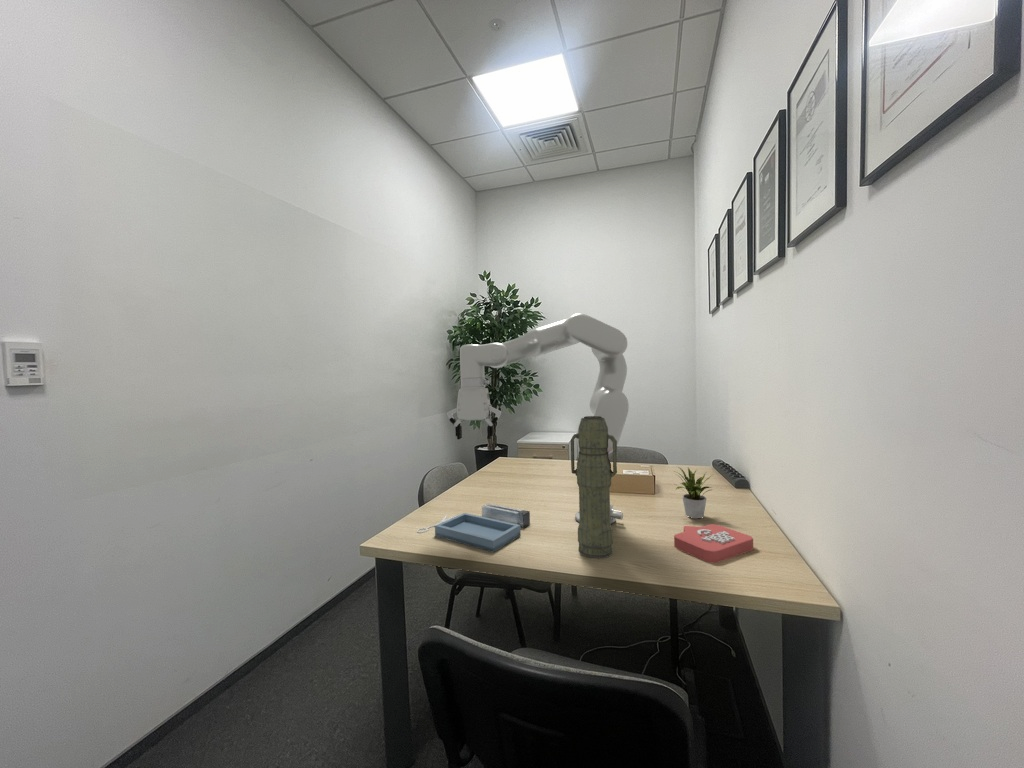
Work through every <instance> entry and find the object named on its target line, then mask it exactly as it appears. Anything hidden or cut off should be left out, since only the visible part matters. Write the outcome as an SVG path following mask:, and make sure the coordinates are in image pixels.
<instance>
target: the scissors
mask: <svg viewBox="0 0 1024 768" xmlns="http://www.w3.org/2000/svg"><path fill="white" fill-rule="evenodd" d="M457 515H460V514H459V513H457V514H455V515H453V516H451V517H449V518H447V516H448V513H446V514H445V515H444V517H443V518H442V519H441V521H439V522H438V523H435V524H434V525H430V526H428V527H421V528H418V529H417V530H416V533H417V534H422V533H423V534H424V533H426V532H429V529H431V528H433V527H434V528H435V525H438V524H440V523H442V522H445V521H447V520H449V519H451V518H454V517H456V516H457ZM421 530H422V531H421Z"/></svg>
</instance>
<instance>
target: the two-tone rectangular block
mask: <svg viewBox="0 0 1024 768" xmlns="http://www.w3.org/2000/svg"><path fill="white" fill-rule="evenodd" d="M530 513H531V512H530V511H528V510H524V509H520V508H514V507H509V506H504V505H500V504H494V503H486V504H484V505H482V506H481V516H482V517H486V518H491V519H495V520H500V521H504V522H509V523H513V524H518V525H520V528H526V527H527V526H529V525H531V515H530Z"/></svg>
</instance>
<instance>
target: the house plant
mask: <svg viewBox="0 0 1024 768" xmlns="http://www.w3.org/2000/svg"><path fill="white" fill-rule="evenodd" d="M676 467H677V468H678V469H680V471H681V473H682V474H681V473H679V472H678V471H674V470H673V473H678V474H677V475H679V476H680V477H681V478H682V479H681V480H682V482H681V483H680V484H681V486H679V485H677V484H675V483H674V485H676V486H677V487H675V490H679V489H682V491H683V492H685V493H686V494H683V495H682V496H681V497H682V501H683V508H684V512H685V516H686V515H687V516H689V517H692V518H702V517H703V518H704V516H705V510H706V503H707V497H706V496H704V494H705V493H707V492H709V491H711V489H712V488H713V487H712V486H703V485H704V484H705V482H706V481H708V480H709V479H710V478H711V477H713V476H715V475H717V473H715V474H712V475H710V476H709V477H707V478H706V479H705V480H704V478H705V476H706V474H707V472H705V473H703V476H701V477H700V476H699V478H697V479H695V474H696V472H697V469H695V471H694V472H693V471H692V470H690V467H689V466H688V467H687V471H688V472H687V473H688V476H687V474H686V473H685V471H684V470H683V468H681V467H679V466H678V465H677V466H676ZM703 480H704V481H703ZM702 481H703V482H702ZM702 486H703V487H702ZM710 488H711V489H710ZM684 489H686V491H687V492H688V493H687V492H686V491H685V490H684ZM706 489H708V490H706ZM705 490H706V491H705ZM703 491H704V492H703ZM701 493H703V494H702V495H701ZM687 516H686V517H687ZM689 517H688V518H689ZM692 518H691V519H692ZM703 518H702V519H703Z"/></svg>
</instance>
